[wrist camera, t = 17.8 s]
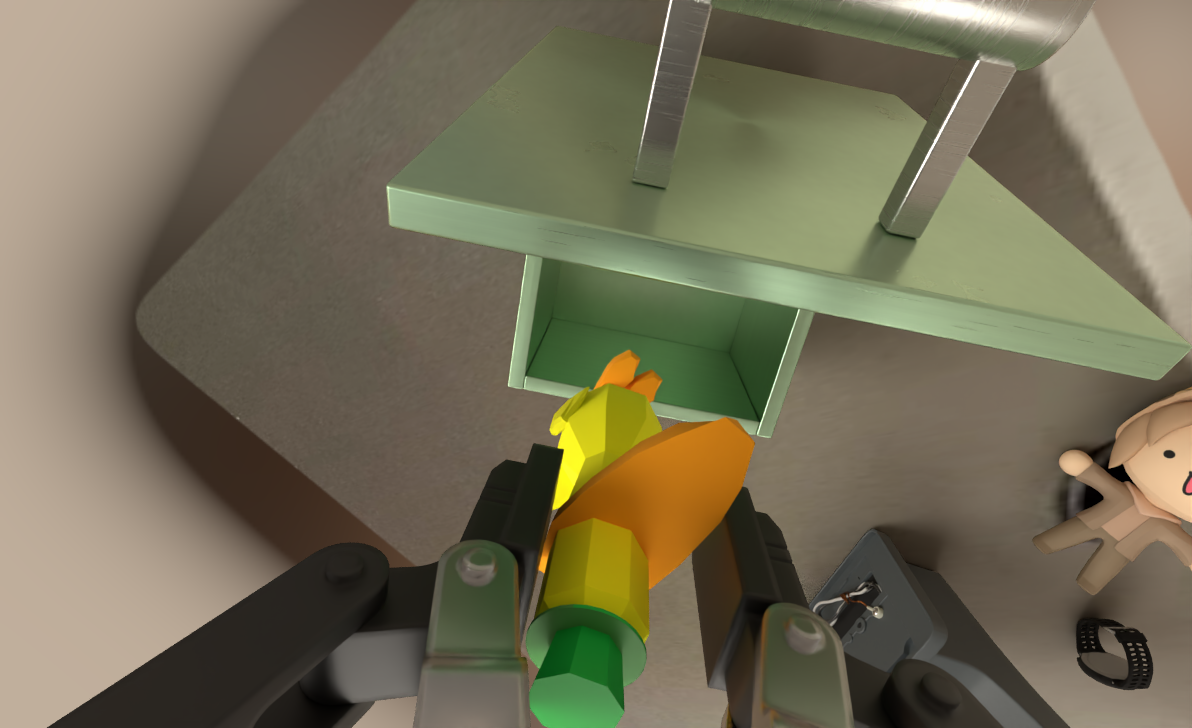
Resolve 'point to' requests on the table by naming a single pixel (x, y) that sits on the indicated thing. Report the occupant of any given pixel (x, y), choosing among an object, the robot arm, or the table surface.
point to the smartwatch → (1111, 666)
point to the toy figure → (620, 537)
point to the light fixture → (923, 630)
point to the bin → (657, 342)
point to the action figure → (1133, 493)
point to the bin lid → (787, 179)
